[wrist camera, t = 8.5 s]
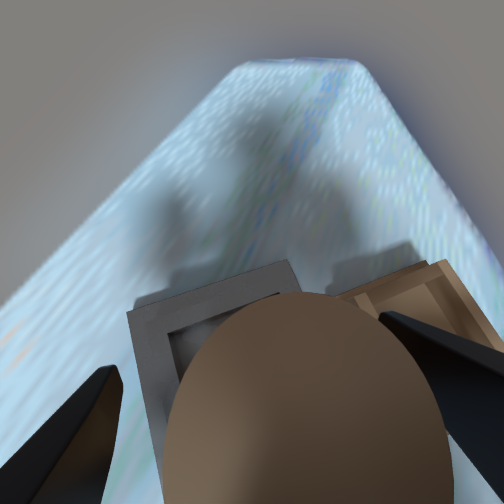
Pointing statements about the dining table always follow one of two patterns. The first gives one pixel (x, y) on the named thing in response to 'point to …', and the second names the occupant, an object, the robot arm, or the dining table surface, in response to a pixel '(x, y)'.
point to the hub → (190, 335)
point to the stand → (428, 301)
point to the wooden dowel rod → (305, 413)
